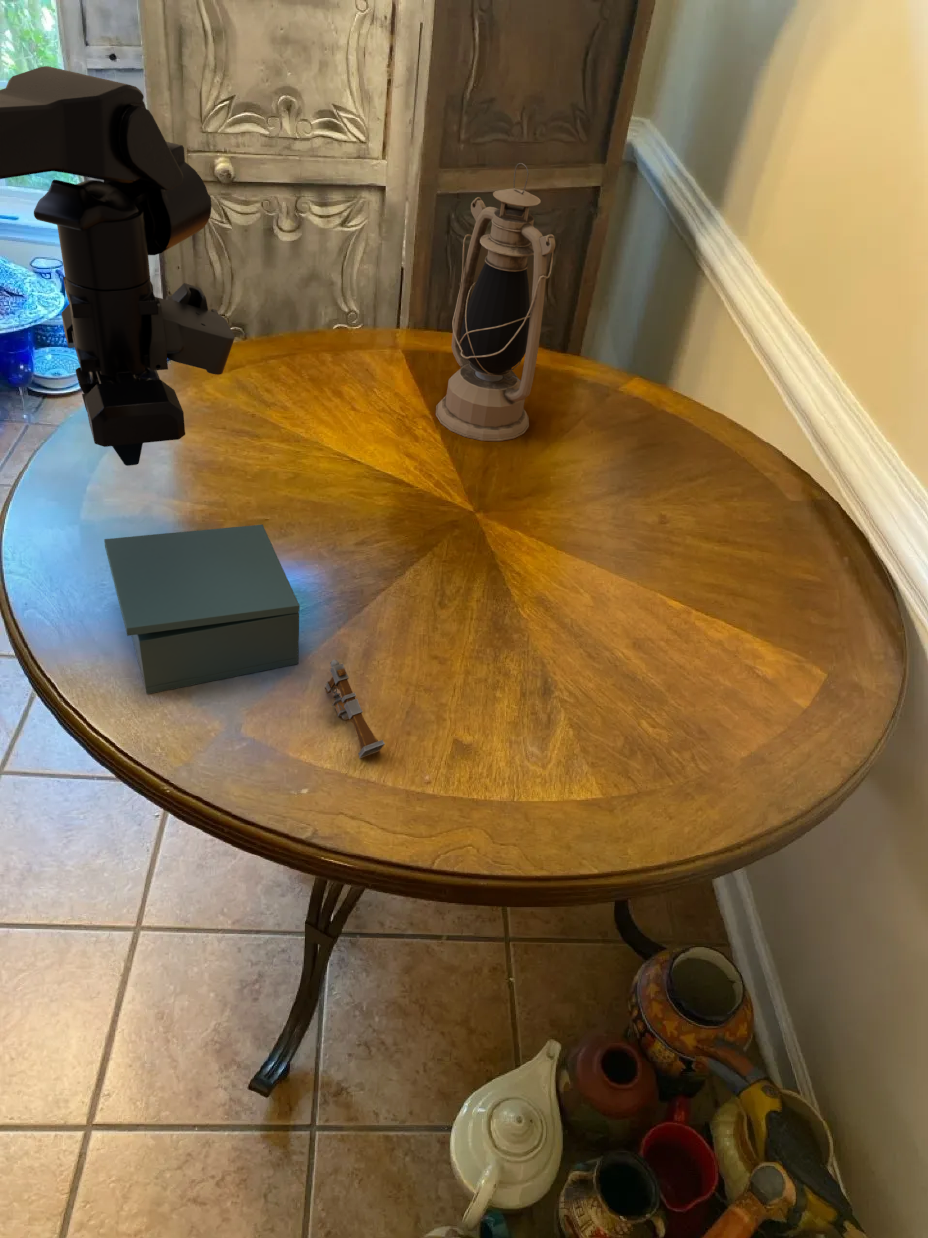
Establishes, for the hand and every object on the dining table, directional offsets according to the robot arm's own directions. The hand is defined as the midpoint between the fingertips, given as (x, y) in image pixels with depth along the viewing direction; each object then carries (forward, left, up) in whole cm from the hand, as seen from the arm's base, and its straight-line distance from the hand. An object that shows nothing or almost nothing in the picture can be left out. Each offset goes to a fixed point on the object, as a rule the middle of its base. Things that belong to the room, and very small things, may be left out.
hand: (131, 462), depth 75 cm
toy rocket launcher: (+12, -22, -13) cm, 28 cm away
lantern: (+45, +23, -13) cm, 52 cm away
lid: (+4, -8, -7) cm, 11 cm away
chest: (+4, -8, -13) cm, 16 cm away
